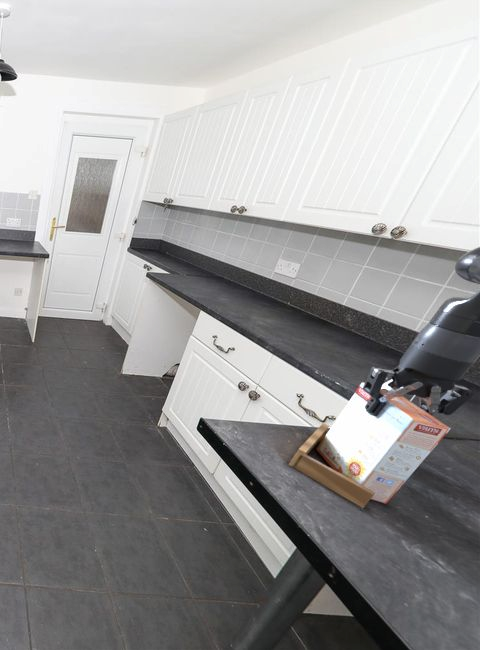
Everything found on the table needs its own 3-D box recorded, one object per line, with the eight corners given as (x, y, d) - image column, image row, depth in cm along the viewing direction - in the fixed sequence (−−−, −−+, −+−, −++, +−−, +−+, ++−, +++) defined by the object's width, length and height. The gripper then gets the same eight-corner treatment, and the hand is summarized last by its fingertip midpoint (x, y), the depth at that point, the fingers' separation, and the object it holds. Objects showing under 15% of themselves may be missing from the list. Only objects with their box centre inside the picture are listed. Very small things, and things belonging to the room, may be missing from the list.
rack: (313, 437, 88) (323, 422, 86) (381, 472, 78) (393, 456, 76) (288, 464, 78) (299, 448, 76) (362, 508, 68) (376, 491, 66)
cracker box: (388, 505, 69) (454, 429, 61) (351, 495, 71) (411, 418, 63) (344, 457, 82) (395, 387, 73) (314, 449, 83) (360, 380, 75)
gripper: (407, 348, 62) (357, 418, 69) (518, 371, 58) (453, 443, 64) (380, 333, 69) (337, 398, 75) (477, 352, 64) (423, 419, 71)
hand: (391, 418), depth 70 cm, fingers closed on cracker box, 6 cm apart
